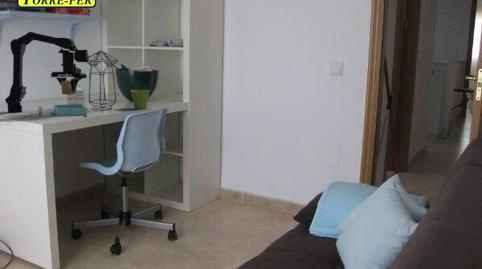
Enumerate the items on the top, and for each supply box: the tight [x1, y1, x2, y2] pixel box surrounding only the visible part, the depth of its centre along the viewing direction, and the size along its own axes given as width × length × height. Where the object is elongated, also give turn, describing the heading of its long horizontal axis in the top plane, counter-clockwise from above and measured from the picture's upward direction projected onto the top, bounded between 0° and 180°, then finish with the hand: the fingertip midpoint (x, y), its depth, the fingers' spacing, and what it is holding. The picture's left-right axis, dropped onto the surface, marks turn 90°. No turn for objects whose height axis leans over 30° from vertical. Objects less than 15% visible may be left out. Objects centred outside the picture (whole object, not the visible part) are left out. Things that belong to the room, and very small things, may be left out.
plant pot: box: [130, 89, 150, 110], centre depth 296 cm, size 12×12×11 cm
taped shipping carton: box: [60, 79, 77, 96], centre depth 257 cm, size 5×5×7 cm
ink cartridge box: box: [67, 83, 85, 106], centre depth 284 cm, size 9×5×15 cm, turn 141°
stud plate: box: [29, 105, 52, 117], centre depth 253 cm, size 10×10×5 cm
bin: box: [53, 104, 88, 118], centre depth 260 cm, size 15×15×5 cm
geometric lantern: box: [86, 50, 119, 111], centre depth 284 cm, size 16×16×35 cm
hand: (69, 91), depth 257 cm, fingers closed on taped shipping carton, 5 cm apart
